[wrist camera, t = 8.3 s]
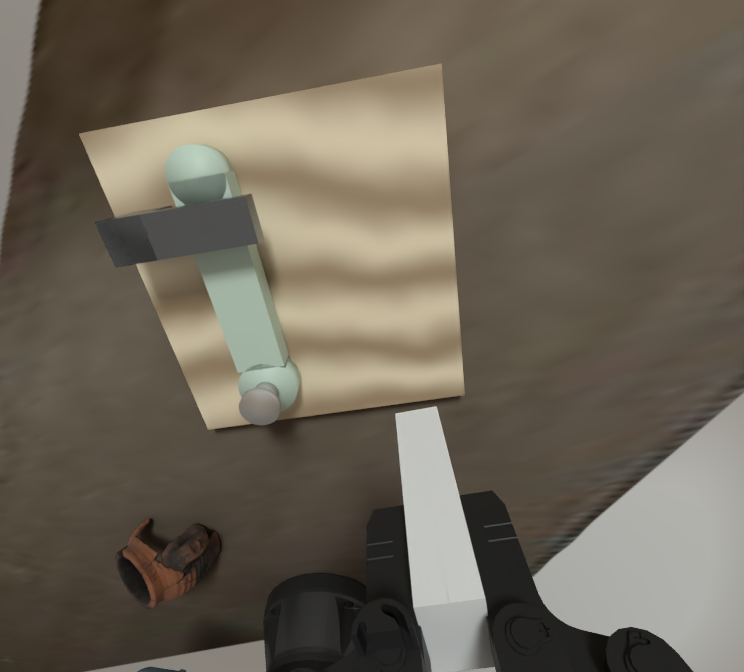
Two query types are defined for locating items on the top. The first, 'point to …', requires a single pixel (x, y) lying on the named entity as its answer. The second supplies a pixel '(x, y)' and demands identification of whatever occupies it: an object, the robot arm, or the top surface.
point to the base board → (315, 242)
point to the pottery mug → (166, 565)
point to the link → (235, 278)
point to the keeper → (181, 230)
